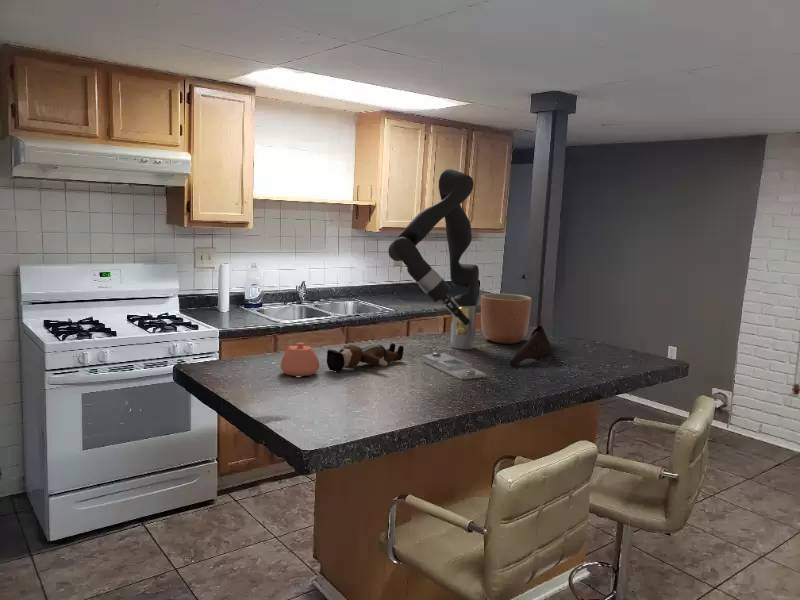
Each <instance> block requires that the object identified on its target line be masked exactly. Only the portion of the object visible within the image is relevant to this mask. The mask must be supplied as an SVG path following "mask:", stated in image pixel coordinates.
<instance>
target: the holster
mask: <svg viewBox="0 0 800 600" xmlns="http://www.w3.org/2000/svg"><path fill="white" fill-rule="evenodd" d="M544 329H545V328H544V327H543V325H542V324H541V325H539V326H537V327H536V328H535V329H534V330H533V331H532V333H531V335H530V338H529V339H528V340H527V341H526V342H525V343H524V344H523V345H522V346H521V347H520V348H519V349H518V351H517V352H515V355H514V356H513V357H512V359H511V360H509V363H510V366H511V367H513V366H514V367H513V368H515V367H517V366H518V365H519V364H520V363H521V362H523V361H524V360H527V359H528V360H529V359H531V360H536V359H540V360H542V359H543V358H545V357H549V358H551V357H550V356H552V357H553V356H554V355H555V352H554V350H553V348H552V345H551V343H550V340H549V339H548V338H549V337H548V335H547V334H546V331H545V330H544ZM542 357H543V358H542Z"/></svg>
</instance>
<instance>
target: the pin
mask: <svg viewBox="0 0 800 600" xmlns="http://www.w3.org/2000/svg"><path fill="white" fill-rule="evenodd" d="M459 309H460V310H461V311H462V312H463V314H464V315H465V316H466V317H467V318H468V309H469V308H467V307H459ZM458 311H459V310H457V311H456V313H457V312H458ZM467 325H468V324H467ZM467 325H464V324H463V322H462V321H461V320H460V319H459V318H457V317H456V328H455V334H457V335H467Z"/></svg>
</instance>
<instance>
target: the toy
mask: <svg viewBox="0 0 800 600" xmlns="http://www.w3.org/2000/svg"><path fill="white" fill-rule="evenodd" d="M404 348H405V347H404V346H403V345H399V346H398V348H397V351H396V343H394V342H393V343H390V345H389V347H388V348H387V349H386V348H385V347H384V346H383V345H381V344H373V345H371V344H370V345H368V346H365V347H360V346H357V345H355V344H354V345H353V344H352V345H350V344H349V345H346V344H344V345H343V347H341V349H340V350H335V349H328V350H327V351H326V354H327V355H326V364H327V367H328V369H329V370H333V371H336V372H338V373H337V374H339V373H341V372H342V371H343V369H350V368H351V369H352V368H355V367H357V366H358V365H359V363H364V364H368V365H374V366H381V365H382V366H383V367H384V366H385V367H387V365H388V362H390V361H394V362H396V361H401V360H403V355H404V350H405V349H404Z"/></svg>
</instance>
